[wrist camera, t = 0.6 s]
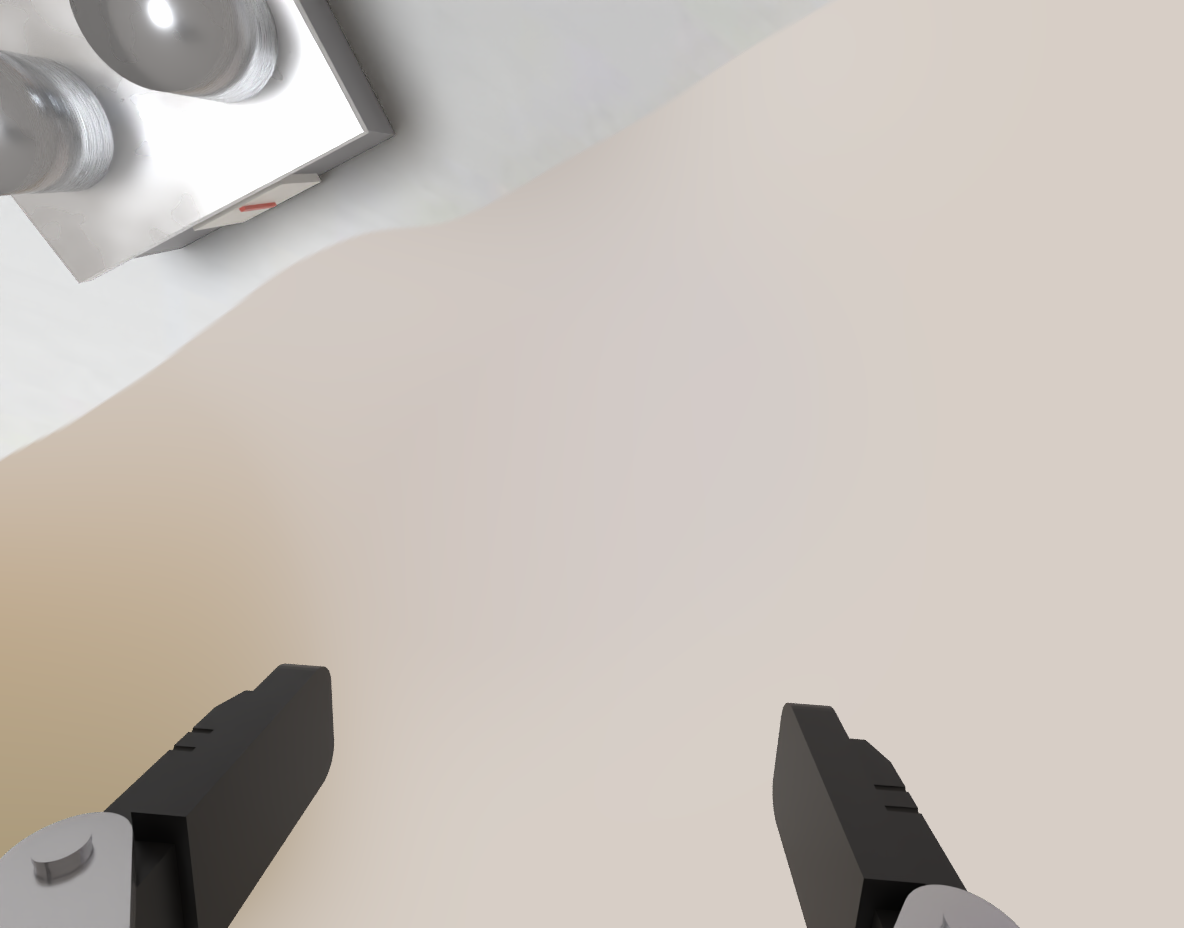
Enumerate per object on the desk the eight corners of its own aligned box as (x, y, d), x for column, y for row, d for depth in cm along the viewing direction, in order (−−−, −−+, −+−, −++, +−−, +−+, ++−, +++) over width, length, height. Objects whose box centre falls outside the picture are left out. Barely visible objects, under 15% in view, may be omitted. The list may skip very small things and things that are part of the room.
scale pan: (92, 280, 28) (79, 283, 27) (-102, 27, 24) (-123, 23, 23) (369, 132, 25) (363, 131, 25) (207, -173, 21) (194, -185, 21)
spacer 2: (141, 72, 24) (63, 55, 20) (152, -73, 22) (68, -120, 18) (267, 122, 25) (214, 115, 21) (287, -14, 23) (233, -48, 19)
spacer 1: (-16, 164, 25) (-116, 164, 21) (-18, 34, 23) (-127, 9, 19) (109, 209, 26) (33, 217, 22) (117, 86, 24) (35, 72, 20)
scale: (188, 258, 34) (113, 276, 28) (50, 59, 30) (-68, 36, 24) (401, 146, 32) (365, 142, 26) (283, -83, 28) (211, -143, 22)
